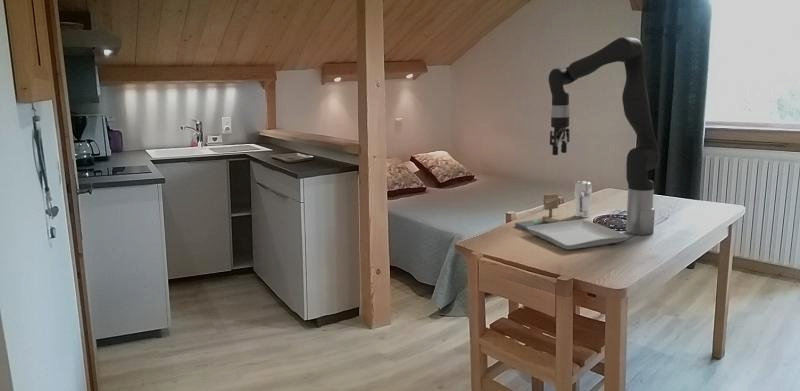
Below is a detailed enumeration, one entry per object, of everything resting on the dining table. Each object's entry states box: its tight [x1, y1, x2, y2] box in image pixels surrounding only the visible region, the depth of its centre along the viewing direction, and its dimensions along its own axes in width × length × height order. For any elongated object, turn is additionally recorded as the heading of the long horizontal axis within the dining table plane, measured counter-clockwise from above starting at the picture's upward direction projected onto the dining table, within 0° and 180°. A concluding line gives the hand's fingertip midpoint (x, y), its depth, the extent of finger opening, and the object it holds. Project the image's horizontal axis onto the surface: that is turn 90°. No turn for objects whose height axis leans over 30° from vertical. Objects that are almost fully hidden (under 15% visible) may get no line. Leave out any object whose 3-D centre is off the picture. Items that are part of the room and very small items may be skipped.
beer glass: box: [574, 180, 593, 218], centre depth 270 cm, size 7×7×15 cm
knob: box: [534, 192, 560, 224], centre depth 255 cm, size 6×11×11 cm, turn 117°
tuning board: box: [514, 218, 564, 232], centre depth 255 cm, size 12×18×2 cm
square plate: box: [526, 219, 629, 250], centre depth 236 cm, size 27×27×4 cm
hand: (559, 153), depth 270 cm, fingers open, 8 cm apart
